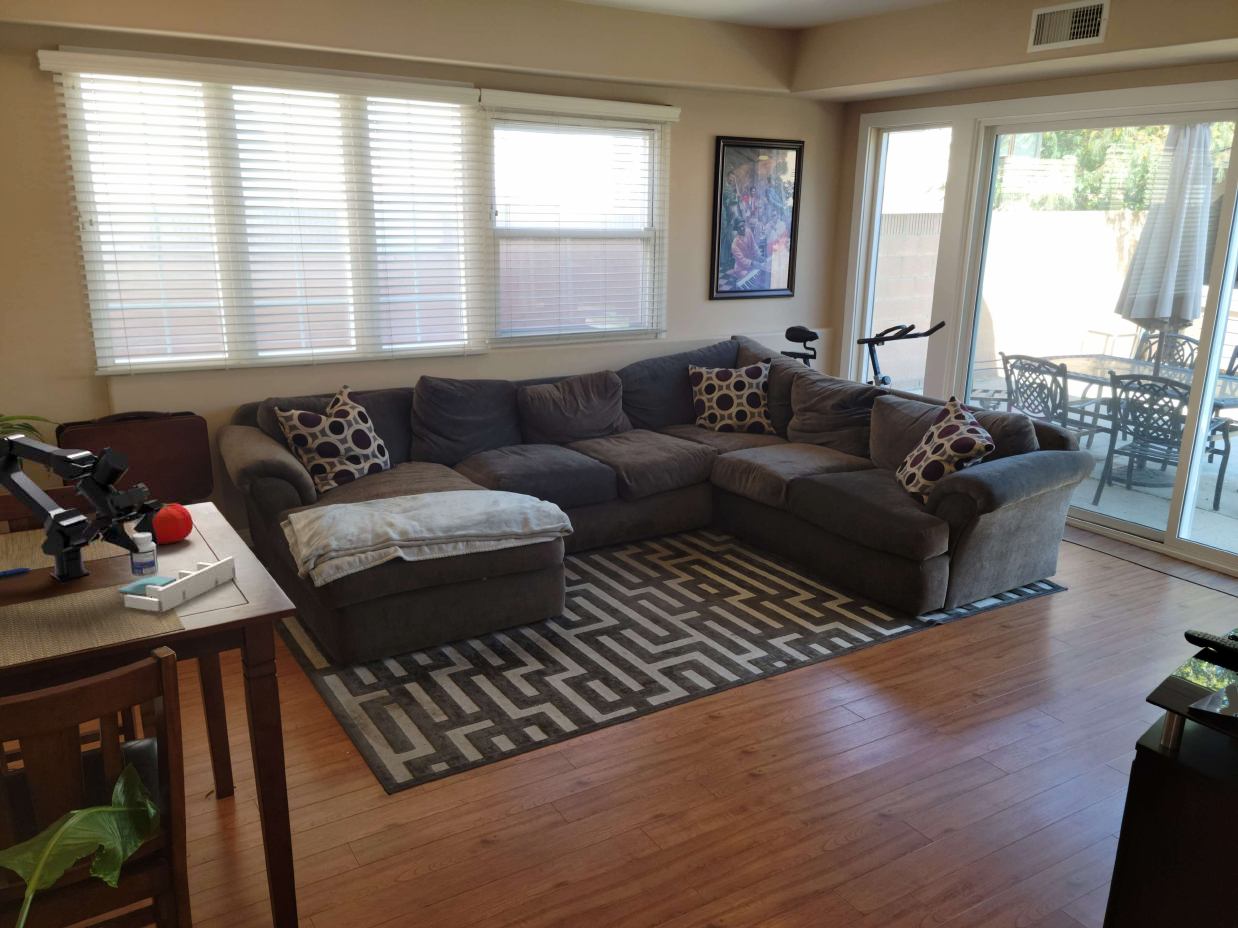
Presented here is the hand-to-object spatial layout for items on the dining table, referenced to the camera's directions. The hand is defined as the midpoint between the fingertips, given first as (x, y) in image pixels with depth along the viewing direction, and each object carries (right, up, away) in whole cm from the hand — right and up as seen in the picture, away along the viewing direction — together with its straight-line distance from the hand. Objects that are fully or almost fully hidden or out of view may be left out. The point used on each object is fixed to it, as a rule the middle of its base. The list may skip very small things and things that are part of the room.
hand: (147, 548), depth 205 cm
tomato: (-12, -2, +33) cm, 35 cm away
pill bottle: (-2, -7, +2) cm, 7 cm away
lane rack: (+8, -10, 0) cm, 13 cm away
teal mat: (-1, -9, +2) cm, 9 cm away
